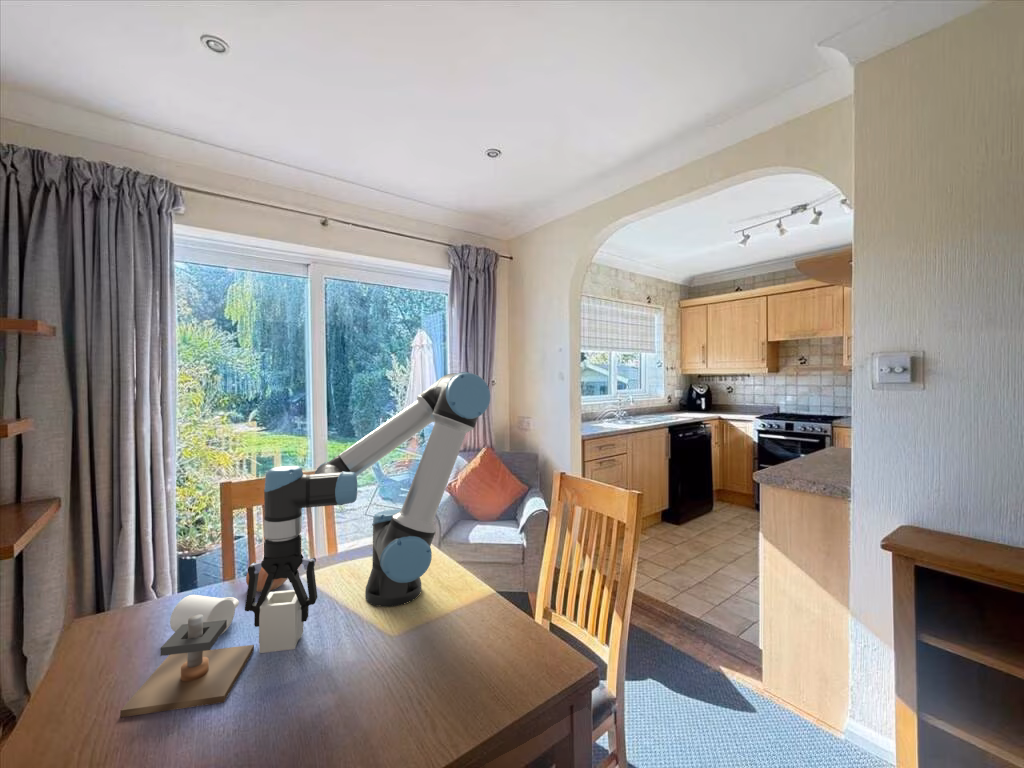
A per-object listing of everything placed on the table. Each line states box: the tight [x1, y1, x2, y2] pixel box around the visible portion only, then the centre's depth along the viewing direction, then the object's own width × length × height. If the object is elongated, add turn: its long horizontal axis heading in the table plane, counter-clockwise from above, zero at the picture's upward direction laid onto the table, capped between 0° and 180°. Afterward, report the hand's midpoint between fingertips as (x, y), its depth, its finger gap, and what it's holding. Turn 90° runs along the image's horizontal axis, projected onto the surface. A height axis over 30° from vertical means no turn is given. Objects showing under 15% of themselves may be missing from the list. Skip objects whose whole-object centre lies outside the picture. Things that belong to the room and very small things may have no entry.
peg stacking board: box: [119, 615, 255, 718], centre depth 85 cm, size 16×16×12 cm
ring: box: [159, 620, 227, 657], centre depth 85 cm, size 8×8×2 cm
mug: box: [169, 594, 240, 636], centre depth 103 cm, size 12×10×8 cm
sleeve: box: [258, 589, 300, 654], centre depth 98 cm, size 7×7×10 cm
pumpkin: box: [245, 560, 288, 593], centre depth 123 cm, size 11×11×8 cm
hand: (281, 637), depth 98 cm, fingers closed on sleeve, 7 cm apart
